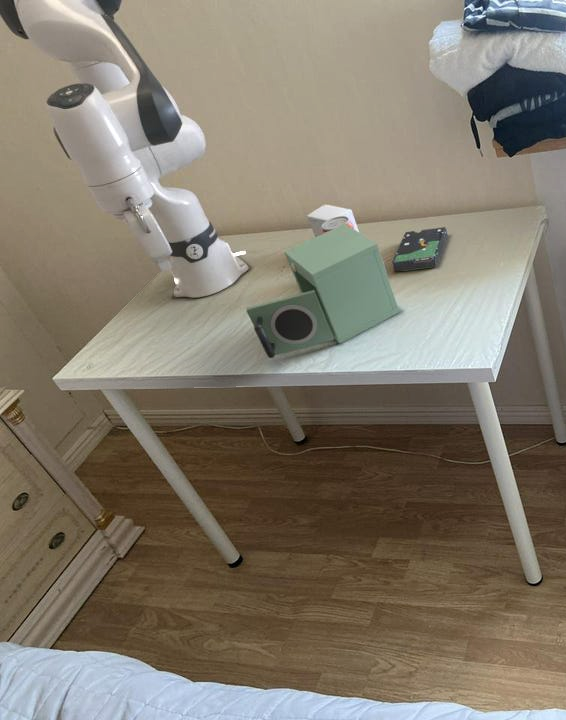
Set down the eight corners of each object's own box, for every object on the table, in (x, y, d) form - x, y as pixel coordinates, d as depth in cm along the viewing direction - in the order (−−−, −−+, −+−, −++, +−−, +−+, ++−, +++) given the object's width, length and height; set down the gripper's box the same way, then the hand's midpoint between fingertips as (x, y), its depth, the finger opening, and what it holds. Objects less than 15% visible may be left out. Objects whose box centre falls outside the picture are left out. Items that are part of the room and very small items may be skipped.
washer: (338, 344, 138) (310, 275, 129) (309, 318, 149) (282, 252, 140) (399, 312, 143) (377, 243, 134) (367, 288, 154) (344, 223, 145)
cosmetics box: (319, 253, 174) (305, 215, 168) (338, 241, 178) (325, 203, 172) (346, 260, 168) (332, 220, 162) (365, 247, 172) (352, 208, 165)
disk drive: (407, 242, 169) (394, 272, 158) (404, 232, 168) (390, 262, 156) (448, 236, 167) (438, 267, 155) (446, 226, 165) (435, 256, 154)
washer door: (333, 351, 134) (313, 302, 127) (267, 369, 134) (243, 321, 127) (333, 337, 138) (314, 289, 131) (269, 354, 138) (246, 307, 131)
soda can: (363, 279, 158) (344, 228, 151) (334, 282, 160) (314, 231, 153) (372, 263, 164) (355, 213, 156) (344, 266, 166) (326, 216, 158)
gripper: (156, 199, 106) (196, 276, 114) (130, 170, 121) (168, 240, 129) (114, 215, 104) (159, 293, 112) (94, 184, 118) (134, 255, 127)
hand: (163, 265), depth 120 cm, fingers open, 3 cm apart
